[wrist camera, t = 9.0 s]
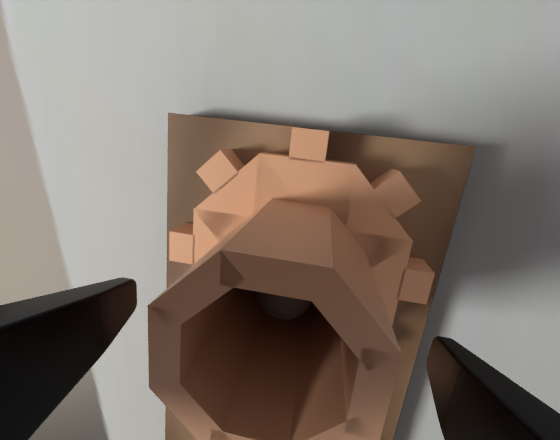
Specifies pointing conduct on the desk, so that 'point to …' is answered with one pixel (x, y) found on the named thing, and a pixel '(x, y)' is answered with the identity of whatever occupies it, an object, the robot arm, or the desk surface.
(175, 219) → the carrier
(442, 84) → the desk surface
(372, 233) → the gear
